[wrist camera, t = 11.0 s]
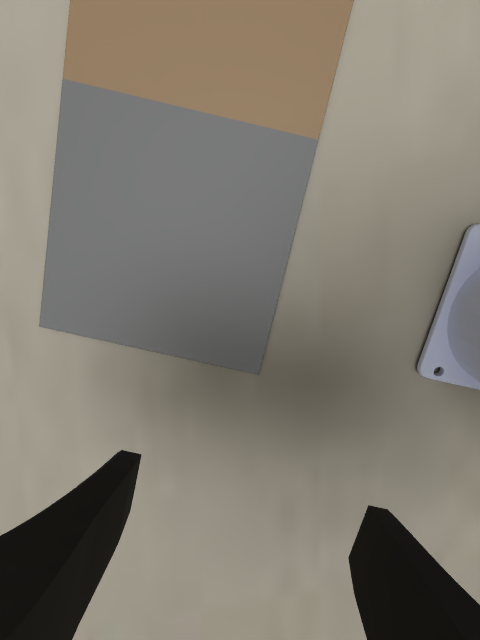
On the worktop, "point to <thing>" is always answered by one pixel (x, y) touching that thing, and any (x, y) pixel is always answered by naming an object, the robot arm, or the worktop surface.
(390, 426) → the worktop surface
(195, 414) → the worktop surface
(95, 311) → the tricolour rectangular mat
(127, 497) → the robot arm
